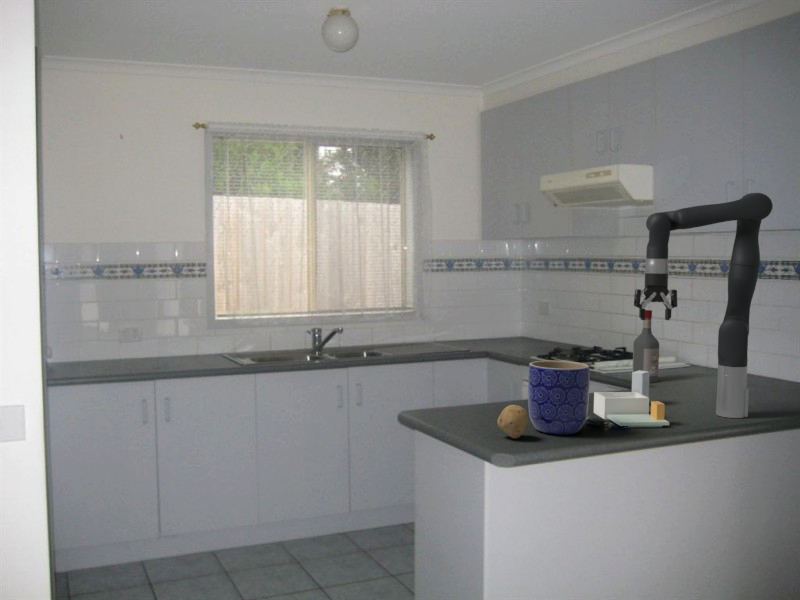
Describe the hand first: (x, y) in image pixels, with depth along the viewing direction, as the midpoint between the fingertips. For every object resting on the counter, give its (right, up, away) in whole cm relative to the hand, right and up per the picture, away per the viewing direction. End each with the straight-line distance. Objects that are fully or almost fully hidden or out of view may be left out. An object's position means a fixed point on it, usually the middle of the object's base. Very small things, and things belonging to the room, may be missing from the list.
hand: (654, 320), depth 287 cm
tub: (-12, -32, -2) cm, 34 cm away
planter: (-38, -34, -26) cm, 57 cm away
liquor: (+17, -28, +71) cm, 78 cm away
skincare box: (0, -31, +18) cm, 36 cm away
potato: (-53, -34, -37) cm, 73 cm away
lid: (-10, -33, -15) cm, 38 cm away
